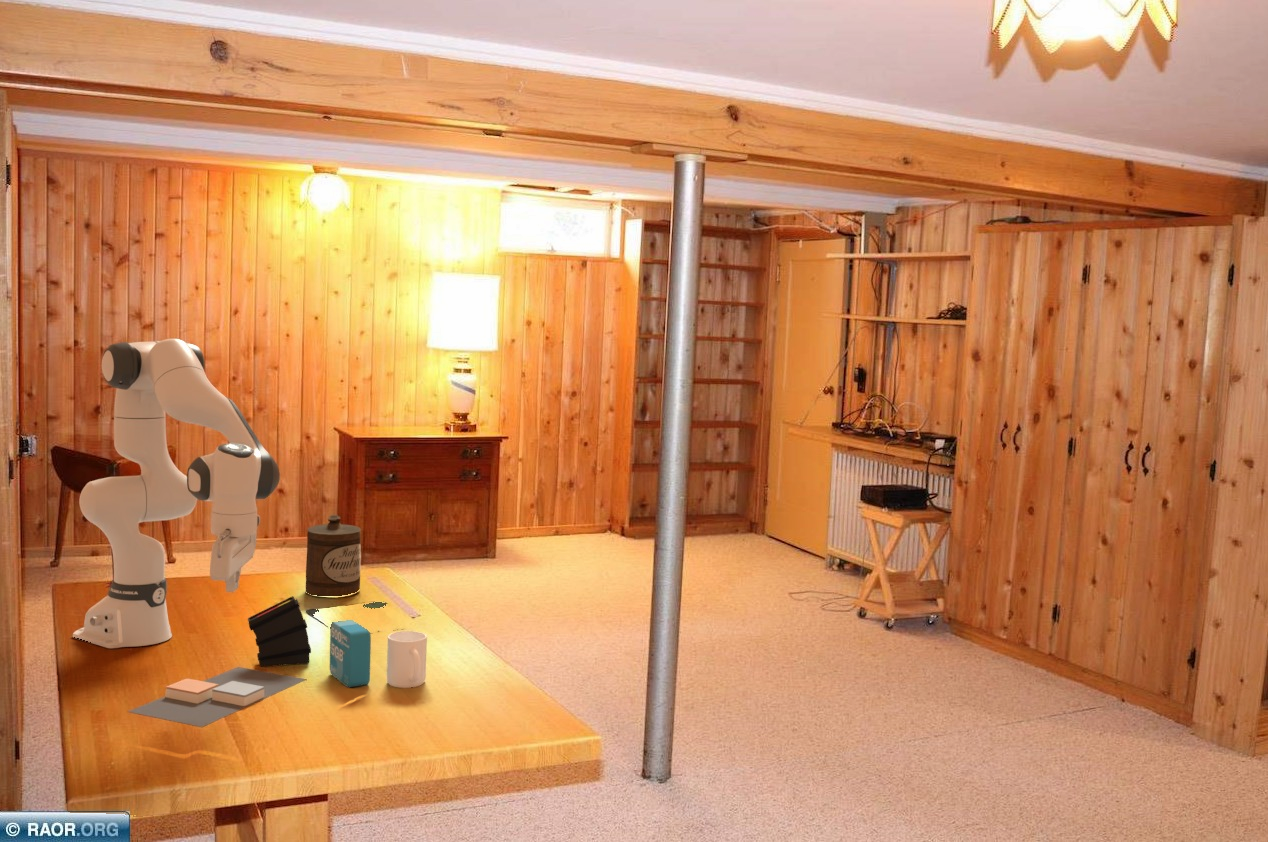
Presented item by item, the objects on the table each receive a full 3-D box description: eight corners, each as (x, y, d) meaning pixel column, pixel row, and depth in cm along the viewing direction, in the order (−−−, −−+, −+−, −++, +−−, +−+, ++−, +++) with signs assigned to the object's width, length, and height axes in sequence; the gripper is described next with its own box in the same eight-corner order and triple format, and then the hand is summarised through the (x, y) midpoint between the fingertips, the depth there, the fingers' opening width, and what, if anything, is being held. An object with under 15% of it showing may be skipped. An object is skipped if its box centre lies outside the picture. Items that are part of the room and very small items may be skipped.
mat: (127, 714, 222) (127, 711, 222) (238, 669, 252) (238, 666, 252) (201, 730, 216) (201, 727, 216) (306, 681, 246) (306, 679, 246)
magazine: (324, 656, 259) (296, 598, 255) (269, 684, 255) (239, 626, 252) (322, 651, 262) (294, 594, 259) (268, 679, 259) (238, 622, 255)
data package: (329, 673, 252) (330, 620, 251) (348, 670, 255) (349, 618, 254) (350, 689, 242) (351, 634, 241) (370, 686, 245) (371, 631, 244)
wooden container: (332, 601, 313) (334, 522, 311) (294, 592, 320) (295, 515, 318) (371, 591, 326) (372, 515, 324) (333, 583, 333) (334, 508, 331)
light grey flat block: (212, 689, 230) (232, 680, 236) (212, 699, 231) (232, 691, 236) (244, 695, 228) (264, 686, 233) (244, 706, 228) (264, 697, 233)
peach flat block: (165, 686, 231) (187, 678, 236) (165, 697, 231) (187, 688, 237) (197, 692, 228) (218, 684, 234) (197, 703, 228) (218, 694, 234)
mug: (435, 691, 243) (437, 644, 242) (397, 696, 240) (398, 648, 239) (419, 674, 254) (420, 629, 253) (382, 678, 250) (383, 632, 249)
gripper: (235, 536, 223) (233, 605, 224) (262, 514, 243) (260, 578, 244) (202, 535, 222) (200, 604, 224) (231, 513, 242) (230, 576, 244)
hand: (232, 590), depth 234 cm, fingers closed
